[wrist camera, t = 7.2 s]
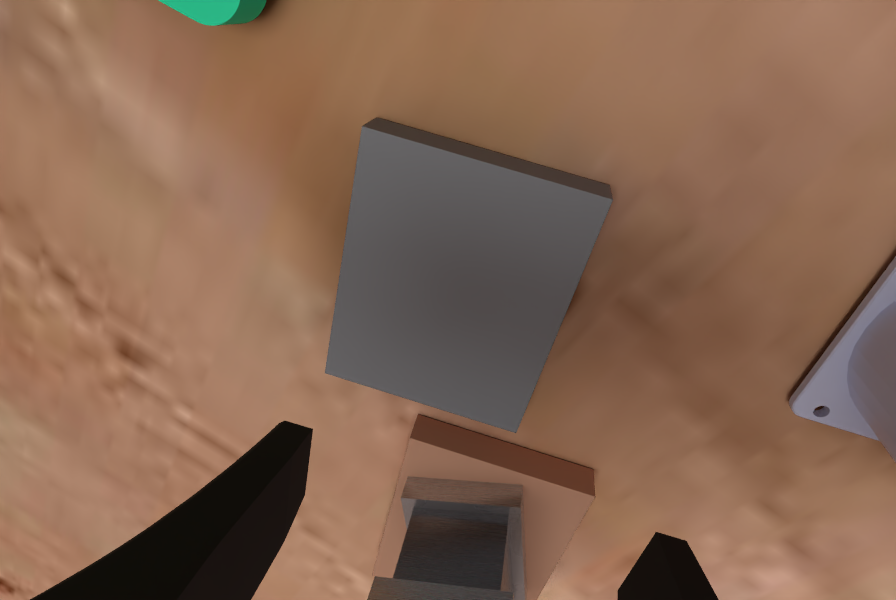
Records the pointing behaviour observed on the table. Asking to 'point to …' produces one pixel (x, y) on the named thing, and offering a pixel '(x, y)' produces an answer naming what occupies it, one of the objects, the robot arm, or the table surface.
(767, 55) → the table surface
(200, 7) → the camera mount
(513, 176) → the stand
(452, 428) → the stand
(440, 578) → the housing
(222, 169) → the table surface
